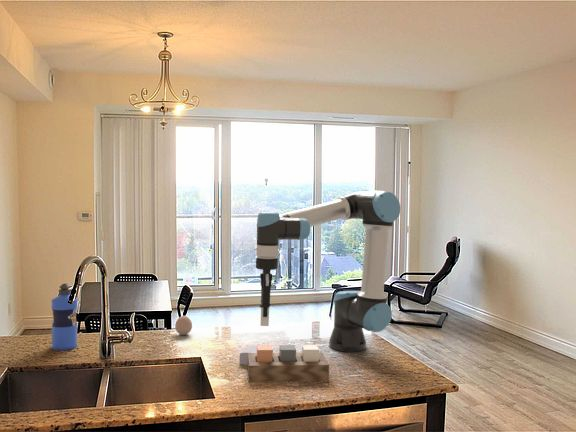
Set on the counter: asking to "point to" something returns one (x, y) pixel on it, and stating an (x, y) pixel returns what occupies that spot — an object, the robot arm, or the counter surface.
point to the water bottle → (64, 321)
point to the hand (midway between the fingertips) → (264, 325)
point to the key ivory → (310, 353)
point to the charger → (245, 354)
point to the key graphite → (287, 353)
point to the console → (287, 369)
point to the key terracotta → (264, 353)
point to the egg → (183, 325)
